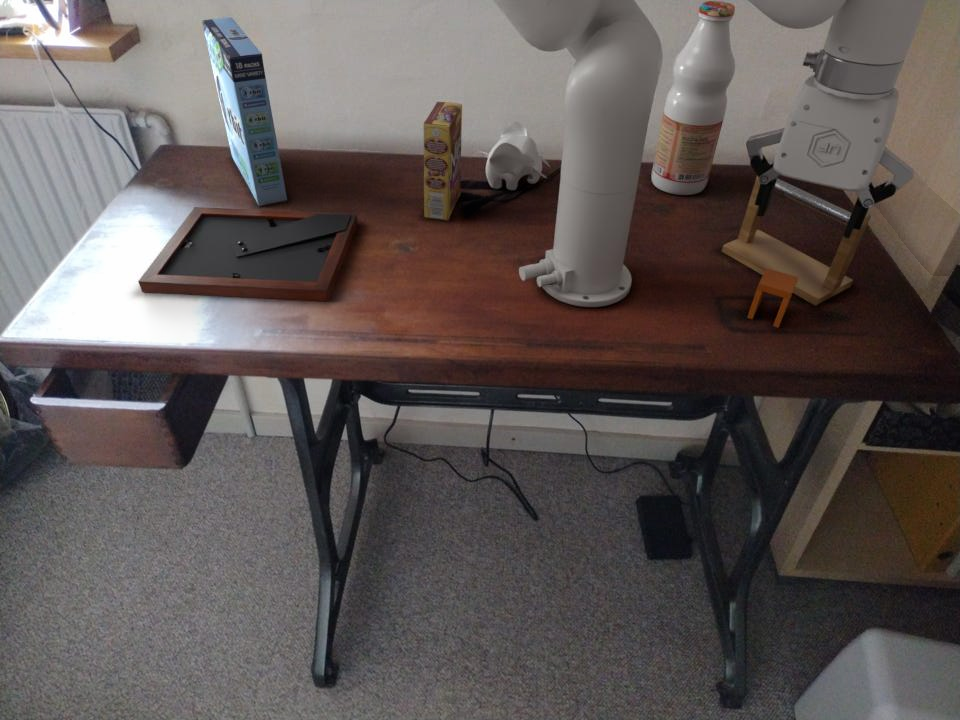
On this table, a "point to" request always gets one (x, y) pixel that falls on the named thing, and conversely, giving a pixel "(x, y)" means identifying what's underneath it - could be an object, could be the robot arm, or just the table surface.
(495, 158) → the elephant figurine
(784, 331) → the table surface
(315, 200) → the table surface
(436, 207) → the candy box
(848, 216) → the rail stand
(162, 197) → the table surface
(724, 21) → the fruit juice
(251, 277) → the picture frame
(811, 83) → the robot arm
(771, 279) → the clip
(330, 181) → the table surface
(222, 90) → the gum box
